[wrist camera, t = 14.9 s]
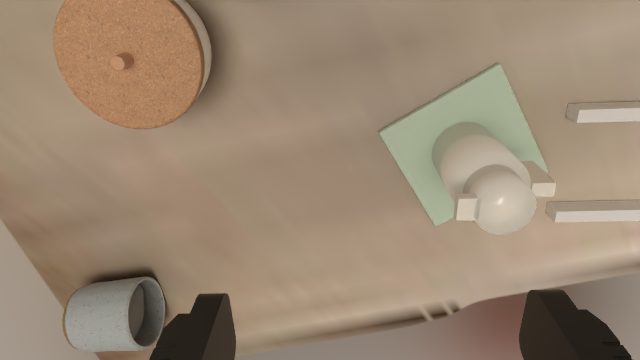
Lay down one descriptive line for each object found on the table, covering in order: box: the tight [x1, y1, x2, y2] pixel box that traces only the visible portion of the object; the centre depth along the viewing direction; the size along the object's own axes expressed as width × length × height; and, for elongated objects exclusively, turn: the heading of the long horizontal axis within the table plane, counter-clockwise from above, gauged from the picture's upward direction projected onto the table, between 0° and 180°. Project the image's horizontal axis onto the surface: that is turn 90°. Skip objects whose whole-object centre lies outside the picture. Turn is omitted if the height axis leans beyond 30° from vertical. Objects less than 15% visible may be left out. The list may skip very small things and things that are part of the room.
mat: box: [378, 63, 548, 227], centre depth 41 cm, size 12×12×1 cm
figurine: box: [432, 122, 557, 235], centre depth 36 cm, size 8×6×11 cm
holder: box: [546, 101, 640, 222], centre depth 41 cm, size 11×11×2 cm
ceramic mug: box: [63, 277, 165, 352], centre depth 48 cm, size 11×8×8 cm
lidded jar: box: [53, 0, 212, 129], centre depth 34 cm, size 11×11×9 cm
